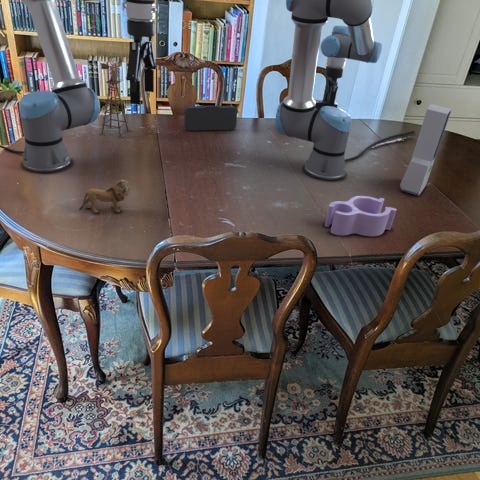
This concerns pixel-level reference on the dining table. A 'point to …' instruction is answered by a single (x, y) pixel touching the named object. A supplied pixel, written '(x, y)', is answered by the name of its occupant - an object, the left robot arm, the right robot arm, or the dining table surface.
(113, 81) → the miniature windmill
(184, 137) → the dining table surface
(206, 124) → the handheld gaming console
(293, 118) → the right robot arm
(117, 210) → the lion figurine
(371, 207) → the clip
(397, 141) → the sword
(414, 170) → the electronic device
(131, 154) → the dining table surface
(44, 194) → the dining table surface
